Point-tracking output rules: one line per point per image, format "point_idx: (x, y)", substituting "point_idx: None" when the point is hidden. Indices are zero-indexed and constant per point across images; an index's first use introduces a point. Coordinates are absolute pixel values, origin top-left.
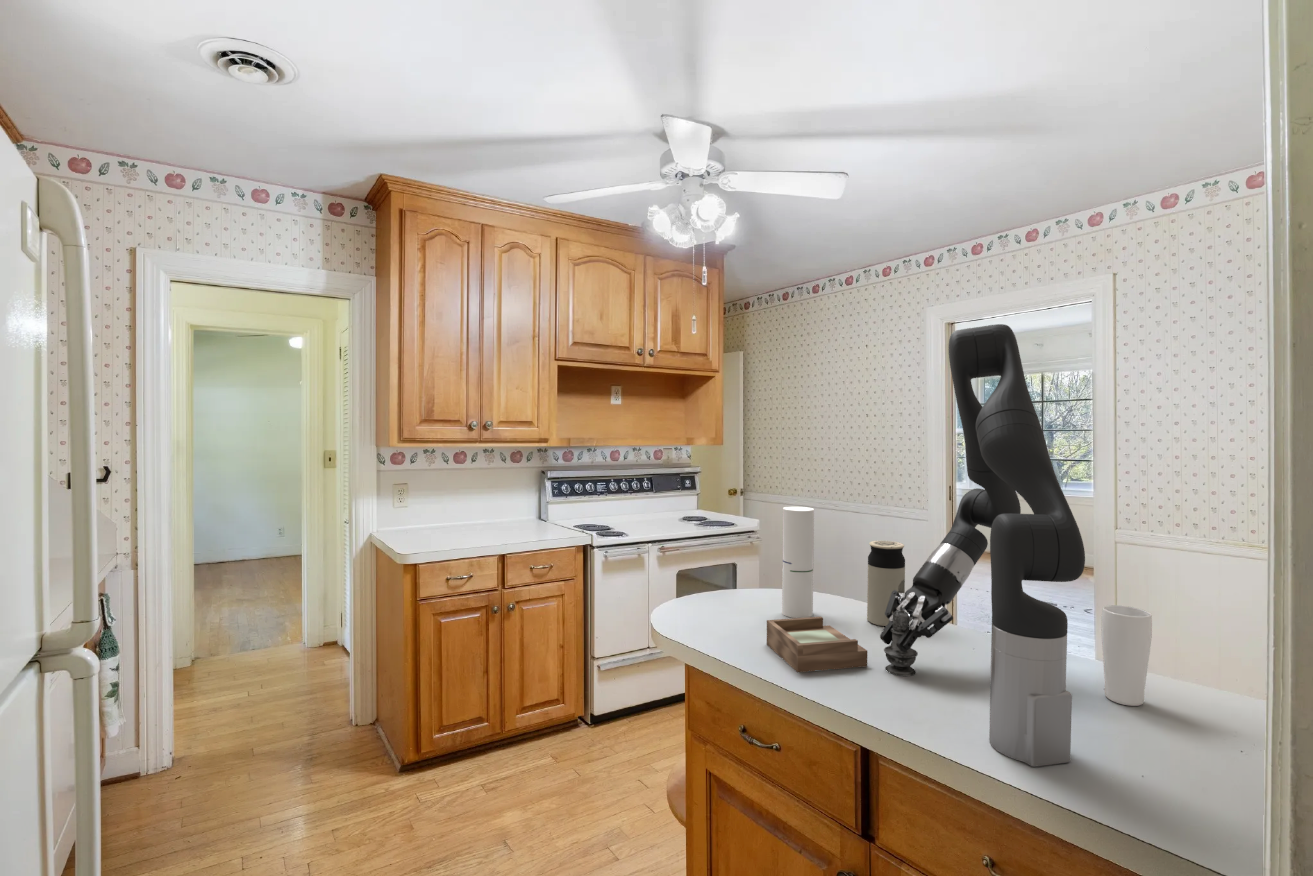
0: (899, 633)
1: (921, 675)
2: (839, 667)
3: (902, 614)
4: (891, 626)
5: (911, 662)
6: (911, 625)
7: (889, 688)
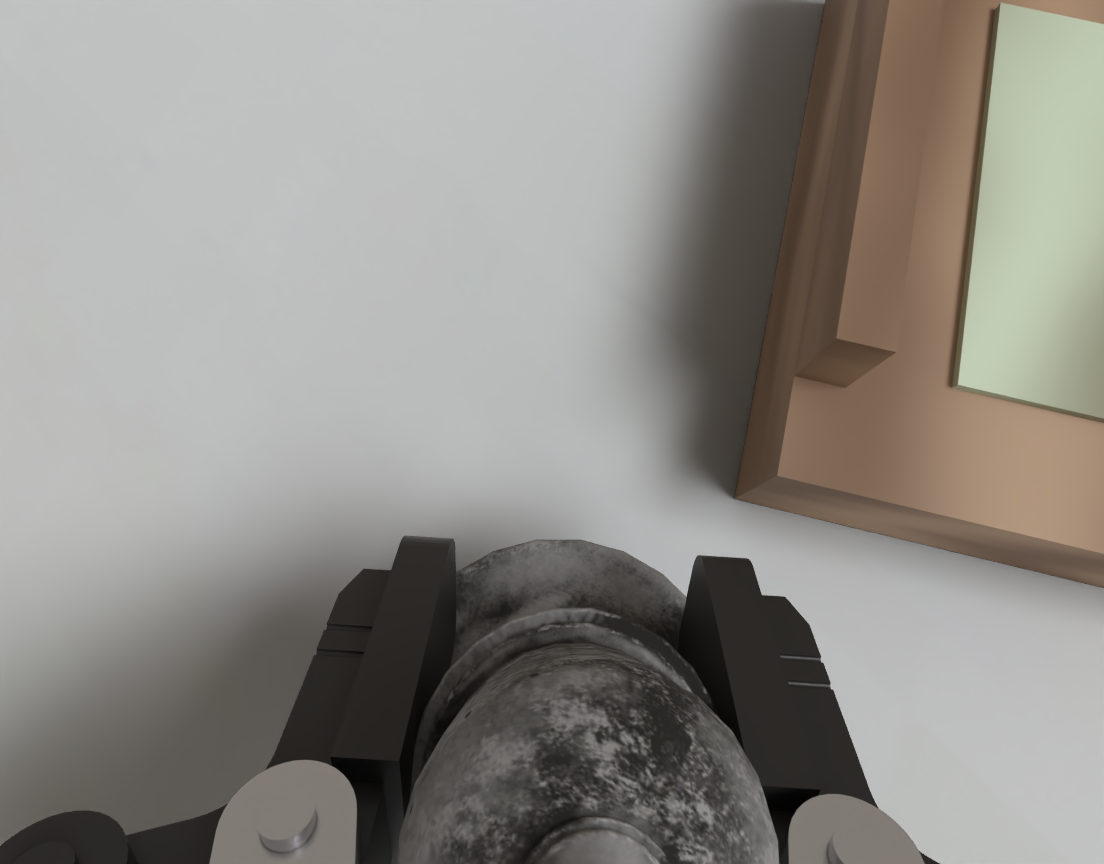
0: (481, 640)
1: None
2: (778, 270)
3: (464, 795)
4: (735, 728)
5: None
6: (301, 820)
7: (345, 346)
